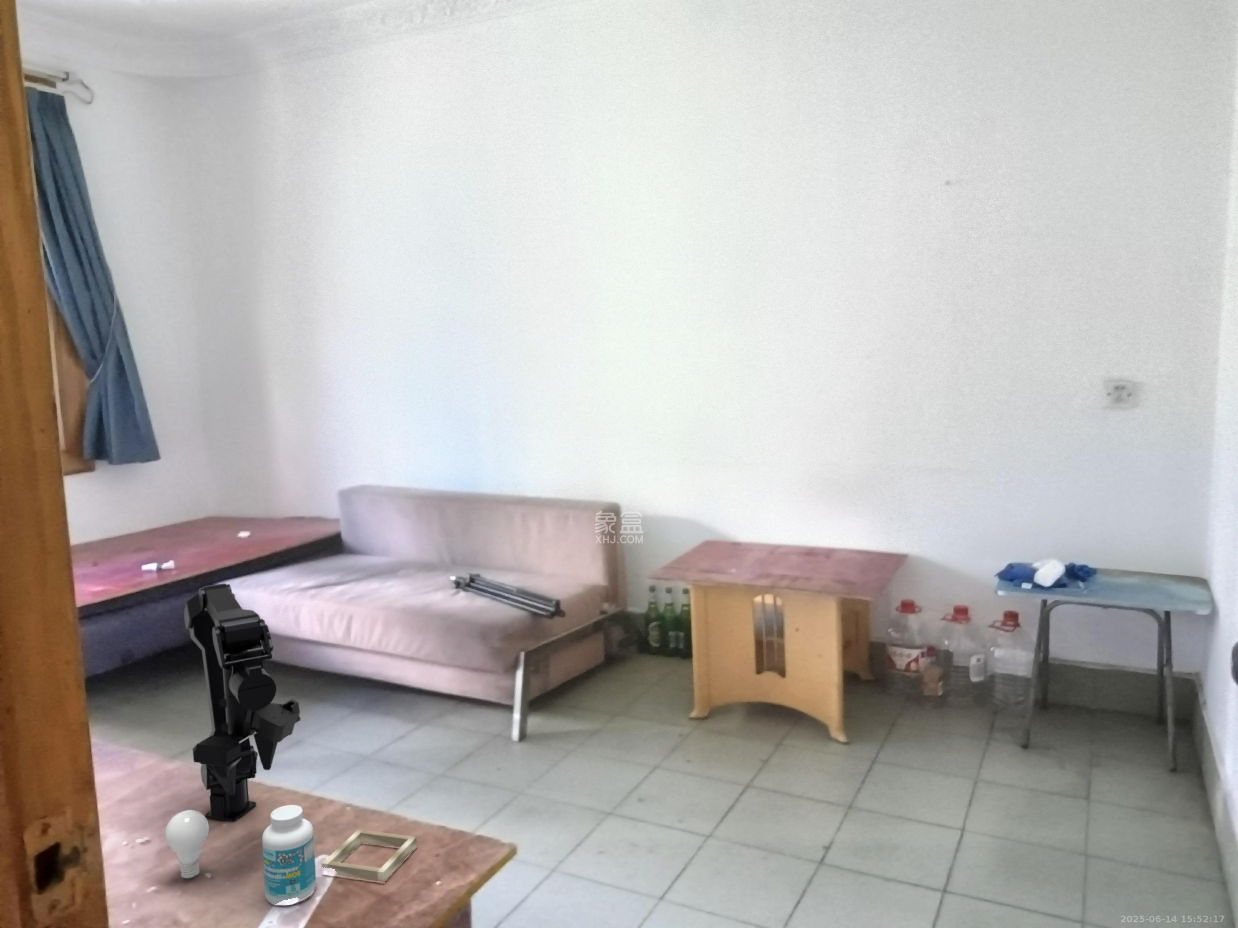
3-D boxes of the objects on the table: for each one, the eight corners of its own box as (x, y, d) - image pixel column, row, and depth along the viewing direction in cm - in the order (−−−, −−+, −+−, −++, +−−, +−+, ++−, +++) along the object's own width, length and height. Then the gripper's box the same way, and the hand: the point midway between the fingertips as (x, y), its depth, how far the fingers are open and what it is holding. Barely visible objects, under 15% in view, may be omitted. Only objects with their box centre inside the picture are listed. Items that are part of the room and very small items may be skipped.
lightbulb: (170, 870, 150) (165, 806, 148) (213, 862, 152) (208, 799, 151) (166, 891, 144) (161, 825, 143) (211, 883, 146) (206, 817, 145)
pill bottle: (256, 907, 139) (250, 823, 138) (280, 879, 147) (274, 799, 145) (303, 909, 139) (298, 824, 137) (325, 881, 146) (319, 800, 144)
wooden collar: (358, 839, 158) (358, 829, 158) (416, 847, 155) (416, 836, 155) (322, 874, 148) (321, 863, 148) (383, 884, 145) (383, 872, 145)
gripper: (248, 716, 140) (255, 814, 141) (319, 675, 157) (324, 762, 159) (187, 710, 142) (194, 806, 144) (263, 670, 160) (268, 756, 162)
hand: (249, 781), depth 152 cm, fingers open, 9 cm apart
